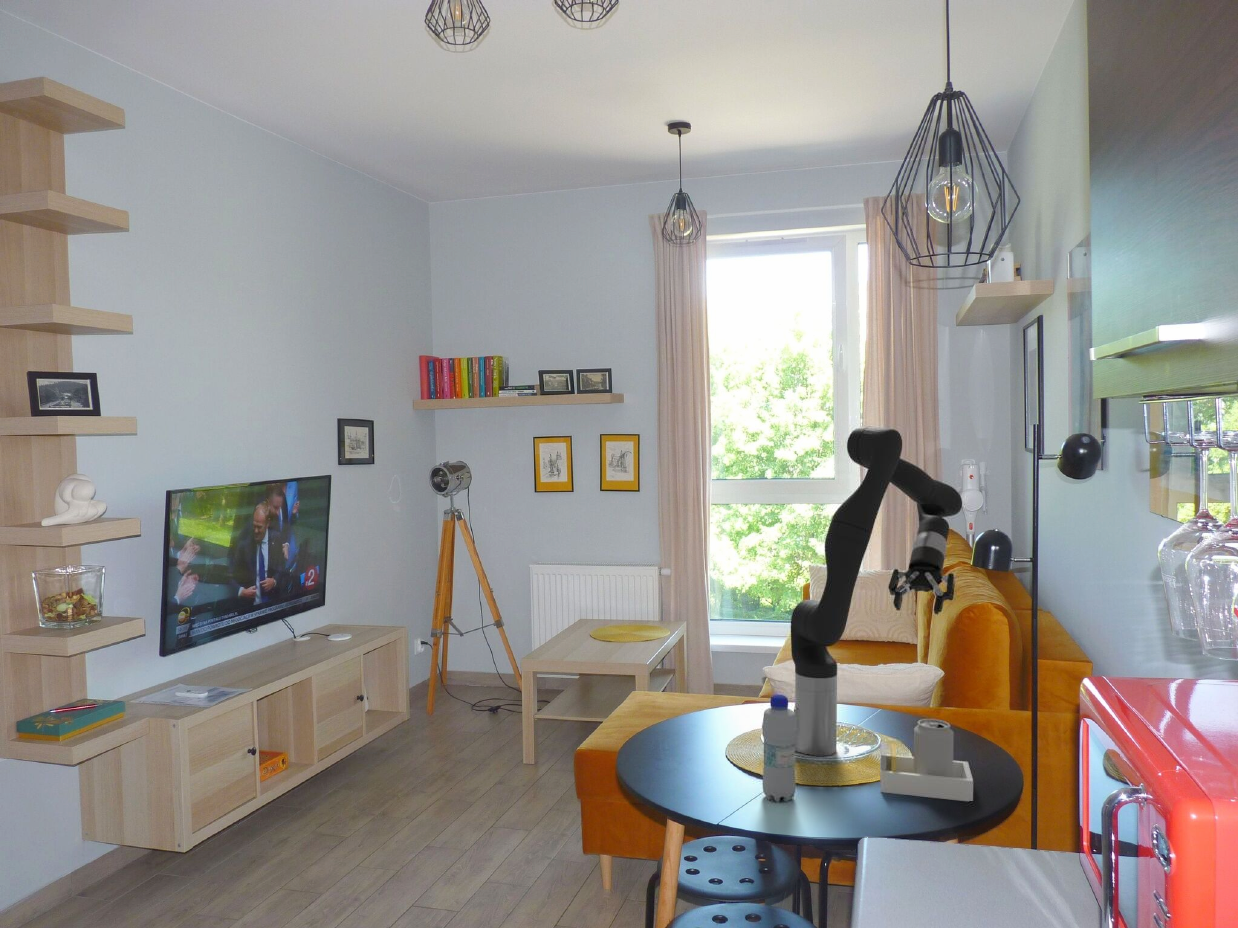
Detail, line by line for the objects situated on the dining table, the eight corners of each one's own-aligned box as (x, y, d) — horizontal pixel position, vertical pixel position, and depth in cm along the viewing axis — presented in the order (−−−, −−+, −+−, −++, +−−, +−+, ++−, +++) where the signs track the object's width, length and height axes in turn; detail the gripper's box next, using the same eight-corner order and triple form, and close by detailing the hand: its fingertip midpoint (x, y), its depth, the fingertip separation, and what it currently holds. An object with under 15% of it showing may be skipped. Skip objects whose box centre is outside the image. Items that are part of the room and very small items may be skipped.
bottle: (775, 806, 170) (776, 701, 170) (754, 794, 176) (755, 692, 176) (803, 800, 174) (804, 697, 173) (782, 788, 180) (782, 688, 179)
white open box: (880, 791, 178) (881, 756, 178) (880, 772, 189) (880, 739, 188) (972, 801, 173) (973, 765, 173) (967, 781, 184) (967, 746, 184)
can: (955, 790, 176) (956, 729, 176) (915, 787, 178) (916, 726, 177) (949, 776, 184) (950, 718, 183) (911, 773, 185) (912, 715, 185)
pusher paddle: (891, 783, 179) (891, 756, 179) (890, 769, 186) (891, 743, 186) (896, 784, 179) (896, 756, 178) (895, 770, 186) (896, 743, 186)
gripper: (895, 543, 217) (882, 597, 207) (957, 546, 210) (946, 603, 200) (900, 562, 222) (887, 616, 212) (961, 566, 214) (951, 623, 205)
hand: (916, 610), depth 206 cm, fingers open, 8 cm apart
